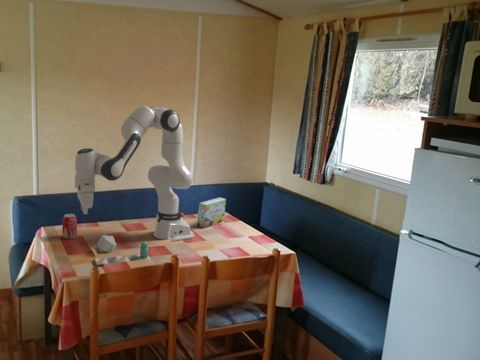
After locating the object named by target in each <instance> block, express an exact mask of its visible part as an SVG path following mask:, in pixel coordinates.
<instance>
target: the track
mask: <svg viewBox="0 0 480 360" xmlns="http://www.w3.org/2000/svg"><path fill="white" fill-rule="evenodd" d="M146 260H151V258H150V256H149V255H148V257H147V258H140V254H131V255H120V256H110V257H100V258H93V261H92V262H93V264H94V266H95V268H101V267H105V266H104V265H105V264H113V263H114V264H115V263H123V262H125V263H126V262H132V261H135V262H137V261H146Z"/></svg>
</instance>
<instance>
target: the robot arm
mask: <svg viewBox="0 0 480 360" xmlns="http://www.w3.org/2000/svg"><path fill="white" fill-rule="evenodd" d="M180 121H181V120H180V115H179V114H178V113H177V111H175V110H173V109H171V108H170V109H169V108H166V107H157V106H150V107H149V106H148V105H141V106H139V107H138V108H137V109H135V110H134V111H133V112H132V113H131V114H130V115H129V116H128V117H127V118H126V119H125V121H124V122H123V124H121V127H120V134H121V135H122V137H123V138H124V143H123V145H122V146H121V147H120V150H119V151H118V152H117V154H116V155H115V156H113V157H110V156H108V155H105V154H102V153H99V152H97V151H95V150H94V149H93V148H89V147H88V148H82V149H79V150H78V151H77V152H76V155H75V161H74V162H75V163H74V164H75V165H74V169H75V175H74V188H75V189H77V195H76V196H77V199H78V200H79V203H80V210H81V211H82V213H83V215H87V214H88V212H89V211H88V210H89V209H92V207H93V205H94V203H93V202H94V197H95V196H94V192H96V184H95V183H96V182H95V181H96V176H97V175H98V176H100V177H103V178H105V179H106V180H108V181H113V182H115V181H116V180H119V178H121V176H122V175H124V171H125V168H126V166H127V164H128V163H129V161H130V160H131V158H132V157H133V156H134V154H135V152H136V151H137V149H138V148H139V146H140V144H141V142H142V138H143V136H144V135H145V134H146V132H148V130H149V128H154V129H157V130H161V132H162V136H161V152H160V154H161V157H162V158H163V159H164V160H165V161H166V162H167V164H168V165H169V166H168V165H162V164H159V165H158V164H157V165H151V167H149V170H148V172H147V177H148V178H147V179H148V180H149V182H150V183H151V184H152V186H153V187H154V189H155V191H156V194H157V202H158V203H157V204H158V205H157V211H156V218H155V219H156V224H155V230H154V232H153V237H155V238H156V239H159V240H164V241H166V240H170V241H171V242H176V241H181V240H189V239H194V238H195V233H194V232H193V231H192V230H191V226H190V224H189V223H188V222H187V221H186V220H185V219H184V217H185V214H184V213H183V212H181V211H180V210H179V206H180V205H179V203H180V199H179V197H178V195H177V194H176V193H175V192H174V190H173V189H176V190H177V189H178V190H187V189H189V188H190V187H191V186H192V185H193V182H194V180H193V179H194V177H193V174H192V173H191V171H190V170H189V169H188V168H187V165H186V164H185V161H184V157H183V145H184V131H183V125H182V123H181V122H180Z"/></svg>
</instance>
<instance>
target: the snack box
mask: <svg viewBox="0 0 480 360" xmlns="http://www.w3.org/2000/svg"><path fill="white" fill-rule="evenodd" d="M226 204H227V199H226V198H223V197H220V196H219V197H215V198H212V199H209V200H205V201H200V202H199V203H198V212H197V222H196V227H198V228H201V229H206V228H208V227H212V226H215V225H218V224H220V222H221V223H224V222H223V221H224V220H225V212H226ZM217 223H218V224H217ZM214 224H215V225H214Z"/></svg>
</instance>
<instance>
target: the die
mask: <svg viewBox="0 0 480 360" xmlns="http://www.w3.org/2000/svg"><path fill="white" fill-rule="evenodd" d="M96 246H97V247H98V248H97V249H98V251H99V252H101V253H102V252H103V253H113V251H114V250H115V248H116V247H117V242H116V240H115V238H114V236H113V235H101V237H100V238H99V239H98V240H97V243H96Z"/></svg>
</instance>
